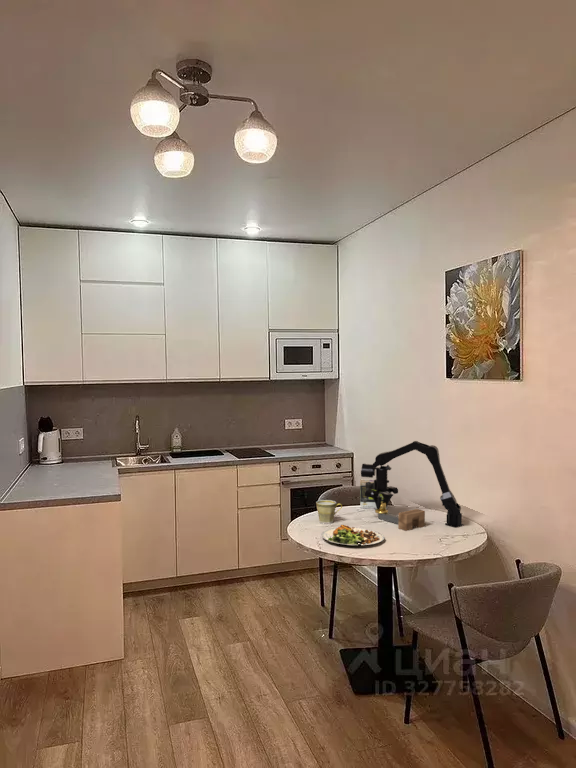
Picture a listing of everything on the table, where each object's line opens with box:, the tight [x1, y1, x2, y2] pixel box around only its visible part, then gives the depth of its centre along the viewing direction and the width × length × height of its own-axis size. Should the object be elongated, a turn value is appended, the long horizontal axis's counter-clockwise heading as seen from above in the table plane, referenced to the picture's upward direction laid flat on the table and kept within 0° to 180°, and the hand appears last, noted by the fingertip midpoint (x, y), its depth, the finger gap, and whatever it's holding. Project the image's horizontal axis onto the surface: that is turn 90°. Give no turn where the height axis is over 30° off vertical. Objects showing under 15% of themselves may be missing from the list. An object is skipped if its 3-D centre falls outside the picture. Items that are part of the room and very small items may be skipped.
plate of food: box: [321, 524, 385, 546], centre depth 254 cm, size 28×28×6 cm
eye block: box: [397, 508, 426, 531], centre depth 273 cm, size 5×13×8 cm, turn 126°
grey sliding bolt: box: [374, 501, 399, 525], centre depth 285 cm, size 18×6×8 cm, turn 36°
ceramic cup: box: [315, 499, 343, 525], centre depth 283 cm, size 13×10×10 cm
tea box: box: [359, 478, 389, 510], centre depth 315 cm, size 15×10×15 cm
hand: (381, 508), depth 289 cm, fingers closed on grey sliding bolt, 4 cm apart
